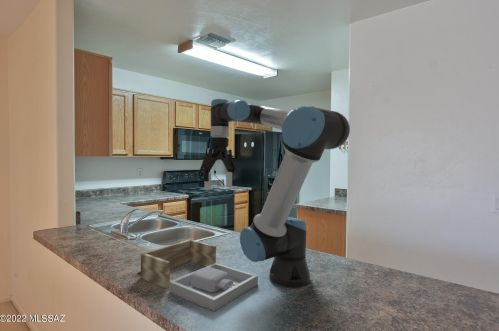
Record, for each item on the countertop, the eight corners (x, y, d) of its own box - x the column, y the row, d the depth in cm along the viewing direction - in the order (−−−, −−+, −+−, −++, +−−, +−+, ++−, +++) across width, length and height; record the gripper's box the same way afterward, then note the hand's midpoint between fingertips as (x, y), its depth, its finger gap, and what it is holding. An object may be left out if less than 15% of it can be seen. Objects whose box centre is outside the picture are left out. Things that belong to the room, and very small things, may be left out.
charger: (224, 299, 91) (190, 287, 99) (241, 288, 99) (208, 278, 107) (225, 284, 91) (190, 273, 99) (241, 274, 98) (208, 265, 107)
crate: (215, 267, 118) (216, 245, 118) (166, 288, 99) (167, 262, 99) (190, 259, 128) (190, 239, 127) (140, 277, 108) (140, 253, 108)
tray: (257, 285, 102) (257, 275, 102) (214, 311, 84) (214, 300, 84) (215, 271, 114) (215, 262, 114) (169, 292, 96) (169, 281, 96)
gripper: (231, 139, 132) (230, 185, 133) (191, 135, 112) (190, 189, 113) (244, 138, 128) (243, 186, 129) (205, 134, 108) (204, 191, 108)
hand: (218, 188), depth 121 cm, fingers open, 13 cm apart
